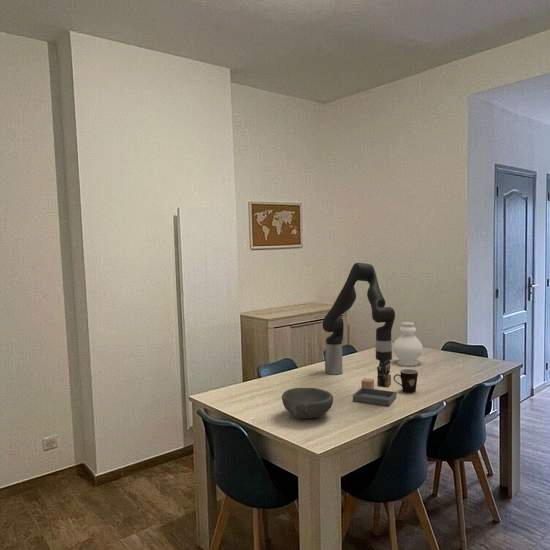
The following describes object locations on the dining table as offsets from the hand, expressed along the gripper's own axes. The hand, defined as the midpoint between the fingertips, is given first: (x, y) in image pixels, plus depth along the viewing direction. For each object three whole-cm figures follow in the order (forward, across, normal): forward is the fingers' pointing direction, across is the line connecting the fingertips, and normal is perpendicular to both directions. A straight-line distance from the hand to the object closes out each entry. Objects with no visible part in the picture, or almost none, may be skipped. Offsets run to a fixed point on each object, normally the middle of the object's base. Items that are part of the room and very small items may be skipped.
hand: (384, 384), depth 229 cm
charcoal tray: (+8, 0, -5) cm, 9 cm away
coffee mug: (+8, -20, +5) cm, 22 cm away
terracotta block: (+8, -14, -13) cm, 20 cm away
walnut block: (0, 0, 0) cm, 0 cm away
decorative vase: (+8, -74, -6) cm, 75 cm away
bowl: (+8, +33, -25) cm, 42 cm away
